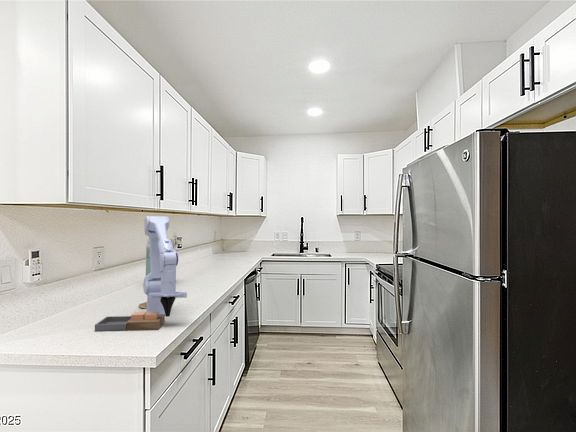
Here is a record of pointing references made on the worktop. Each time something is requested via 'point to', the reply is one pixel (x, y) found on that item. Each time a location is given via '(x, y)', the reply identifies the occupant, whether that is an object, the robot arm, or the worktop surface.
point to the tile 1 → (138, 316)
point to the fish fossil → (143, 305)
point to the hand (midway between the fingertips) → (167, 315)
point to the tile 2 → (151, 315)
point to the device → (149, 257)
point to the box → (113, 323)
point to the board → (146, 324)
